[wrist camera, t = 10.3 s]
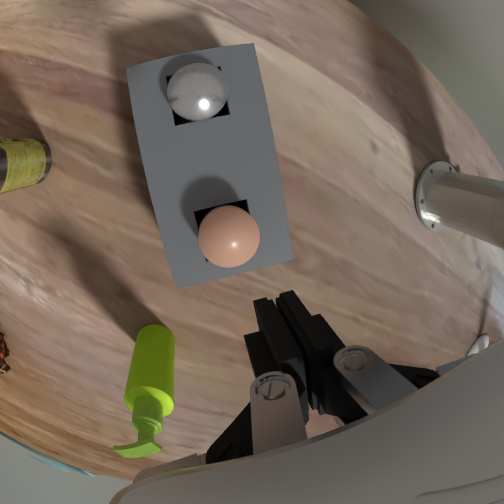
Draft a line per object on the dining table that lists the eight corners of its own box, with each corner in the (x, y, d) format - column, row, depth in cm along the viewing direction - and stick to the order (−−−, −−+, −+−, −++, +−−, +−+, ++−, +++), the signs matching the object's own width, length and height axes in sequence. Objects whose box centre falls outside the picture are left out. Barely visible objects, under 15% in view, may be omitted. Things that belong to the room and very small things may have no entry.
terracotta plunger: (239, 191, 31) (253, 201, 24) (248, 237, 32) (264, 259, 26) (192, 203, 30) (192, 216, 23) (203, 248, 32) (207, 273, 25)
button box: (237, 71, 31) (253, 43, 22) (268, 234, 38) (293, 259, 29) (142, 91, 29) (125, 68, 20) (180, 255, 37) (176, 288, 28)
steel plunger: (216, 80, 27) (223, 58, 20) (224, 123, 29) (234, 112, 22) (169, 90, 26) (162, 70, 20) (177, 133, 28) (172, 125, 21)
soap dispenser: (124, 335, 39) (97, 442, 20) (161, 318, 39) (150, 429, 21) (146, 362, 41) (134, 468, 22) (182, 346, 41) (186, 457, 23)
